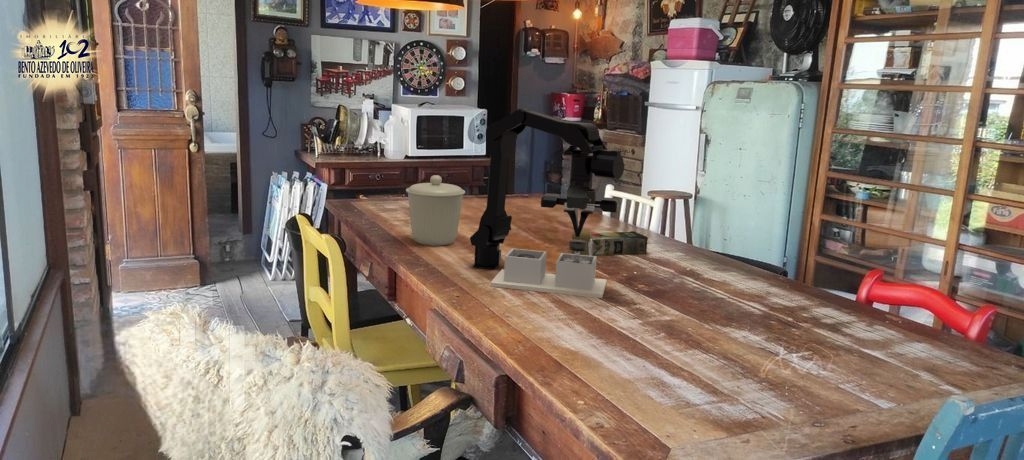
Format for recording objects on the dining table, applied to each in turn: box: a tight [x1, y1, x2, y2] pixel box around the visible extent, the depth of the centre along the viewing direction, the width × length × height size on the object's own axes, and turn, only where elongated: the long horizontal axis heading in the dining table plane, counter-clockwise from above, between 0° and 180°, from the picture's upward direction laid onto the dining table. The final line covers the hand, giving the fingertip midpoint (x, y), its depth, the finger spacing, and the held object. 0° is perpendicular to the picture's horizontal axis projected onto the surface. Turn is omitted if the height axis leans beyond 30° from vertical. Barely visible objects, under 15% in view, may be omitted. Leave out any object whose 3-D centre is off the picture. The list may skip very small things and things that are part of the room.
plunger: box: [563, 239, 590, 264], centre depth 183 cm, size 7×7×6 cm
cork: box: [570, 229, 591, 256], centre depth 203 cm, size 6×6×11 cm
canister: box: [405, 174, 466, 247], centre depth 225 cm, size 18×18×21 cm
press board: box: [490, 248, 608, 299], centre depth 186 cm, size 28×14×8 cm, turn 79°
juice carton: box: [588, 230, 649, 257], centre depth 226 cm, size 20×10×6 cm, turn 109°
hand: (577, 236), depth 182 cm, fingers closed
